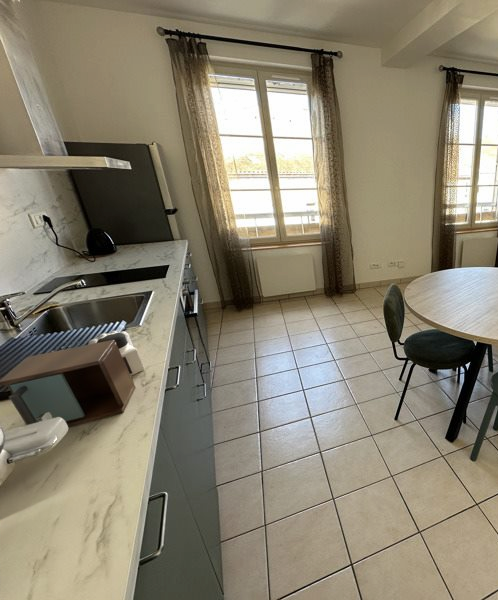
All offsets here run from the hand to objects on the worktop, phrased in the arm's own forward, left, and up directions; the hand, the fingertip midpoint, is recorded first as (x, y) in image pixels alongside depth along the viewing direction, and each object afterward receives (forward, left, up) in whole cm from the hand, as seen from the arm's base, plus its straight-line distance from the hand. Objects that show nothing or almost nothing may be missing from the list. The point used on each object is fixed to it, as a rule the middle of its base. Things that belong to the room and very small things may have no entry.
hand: (18, 422), depth 72 cm
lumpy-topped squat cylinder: (+4, +41, -8) cm, 42 cm away
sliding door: (+3, +5, -7) cm, 8 cm away
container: (+10, +29, -8) cm, 31 cm away
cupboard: (+6, +13, -8) cm, 16 cm away
